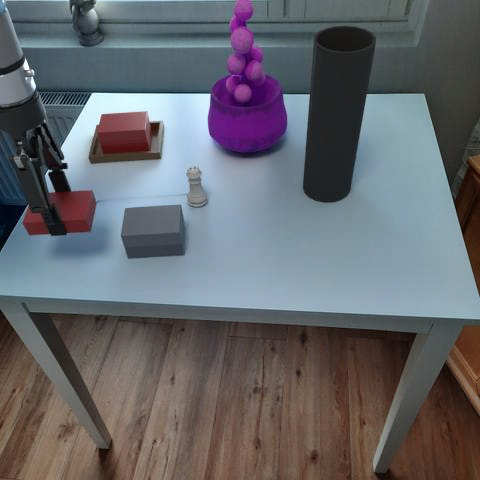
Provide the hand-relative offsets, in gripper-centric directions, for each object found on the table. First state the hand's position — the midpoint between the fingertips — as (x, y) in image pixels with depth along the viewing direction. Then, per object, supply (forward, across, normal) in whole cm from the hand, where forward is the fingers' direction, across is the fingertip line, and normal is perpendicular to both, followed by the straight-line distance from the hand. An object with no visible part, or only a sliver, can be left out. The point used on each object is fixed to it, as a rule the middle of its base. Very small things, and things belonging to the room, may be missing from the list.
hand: (63, 217), depth 86 cm
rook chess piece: (+9, +14, -23) cm, 29 cm away
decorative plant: (+9, +36, -35) cm, 51 cm away
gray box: (+9, +2, -15) cm, 18 cm away
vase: (+9, +16, -51) cm, 55 cm away
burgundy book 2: (+6, +36, -6) cm, 37 cm away
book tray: (+9, +36, -6) cm, 38 cm away
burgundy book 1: (0, 0, 0) cm, 0 cm away
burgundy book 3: (+9, +36, -6) cm, 37 cm away
